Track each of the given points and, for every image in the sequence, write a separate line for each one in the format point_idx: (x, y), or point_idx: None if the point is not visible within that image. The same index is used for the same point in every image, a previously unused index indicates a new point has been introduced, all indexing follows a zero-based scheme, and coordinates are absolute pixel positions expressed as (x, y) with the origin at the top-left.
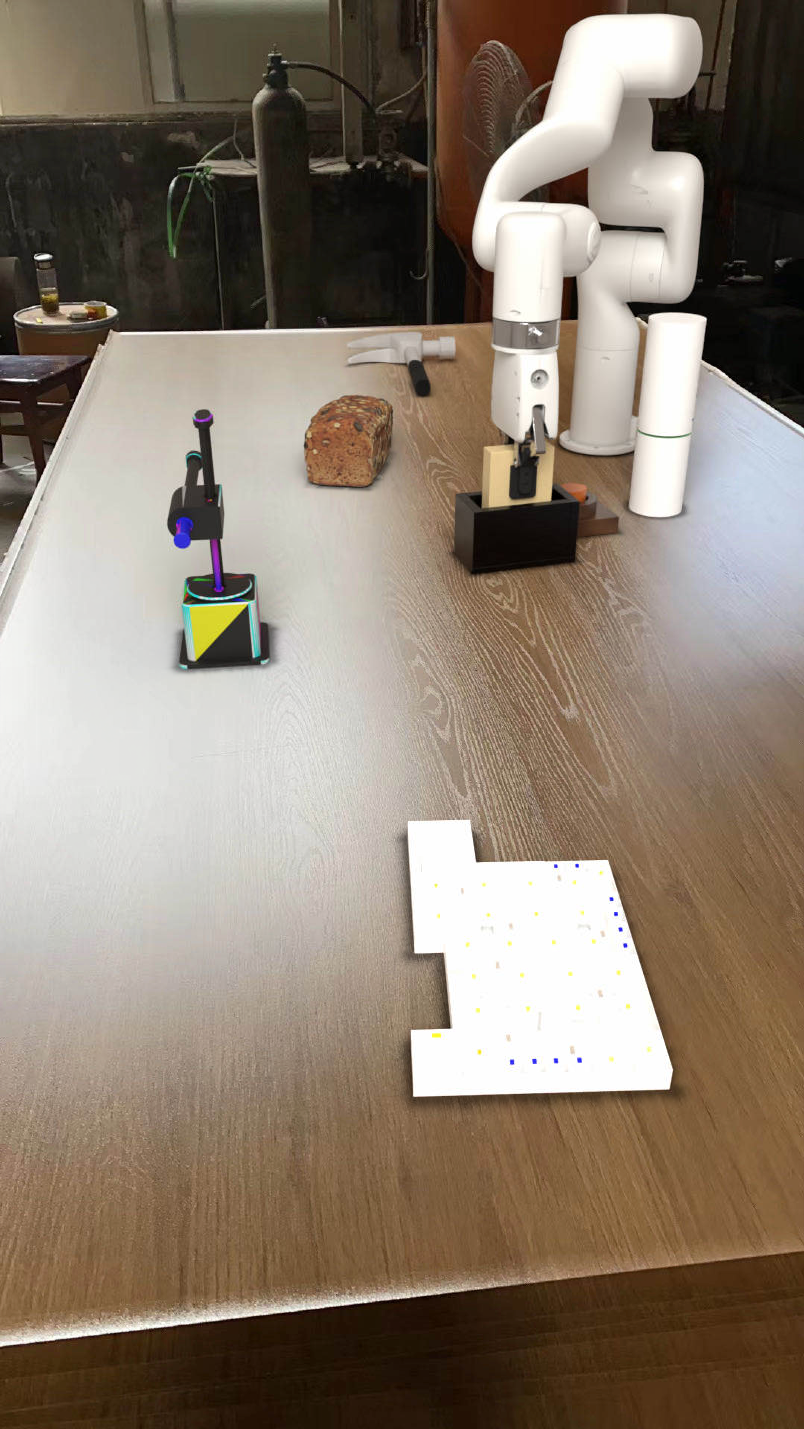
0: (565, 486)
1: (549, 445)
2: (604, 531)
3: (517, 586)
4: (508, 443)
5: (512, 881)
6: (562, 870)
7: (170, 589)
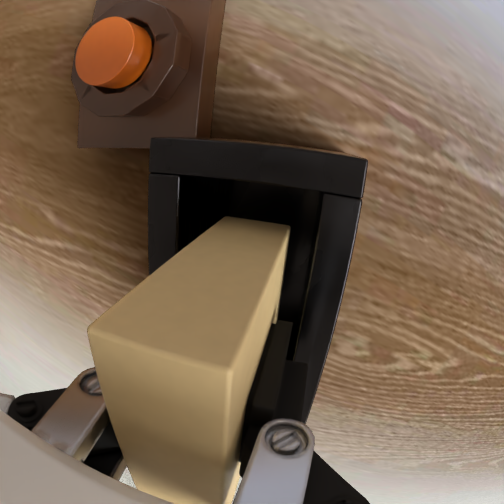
0: (90, 67)
1: (185, 381)
2: (221, 15)
3: (390, 320)
4: (97, 448)
5: None
6: None
7: None
